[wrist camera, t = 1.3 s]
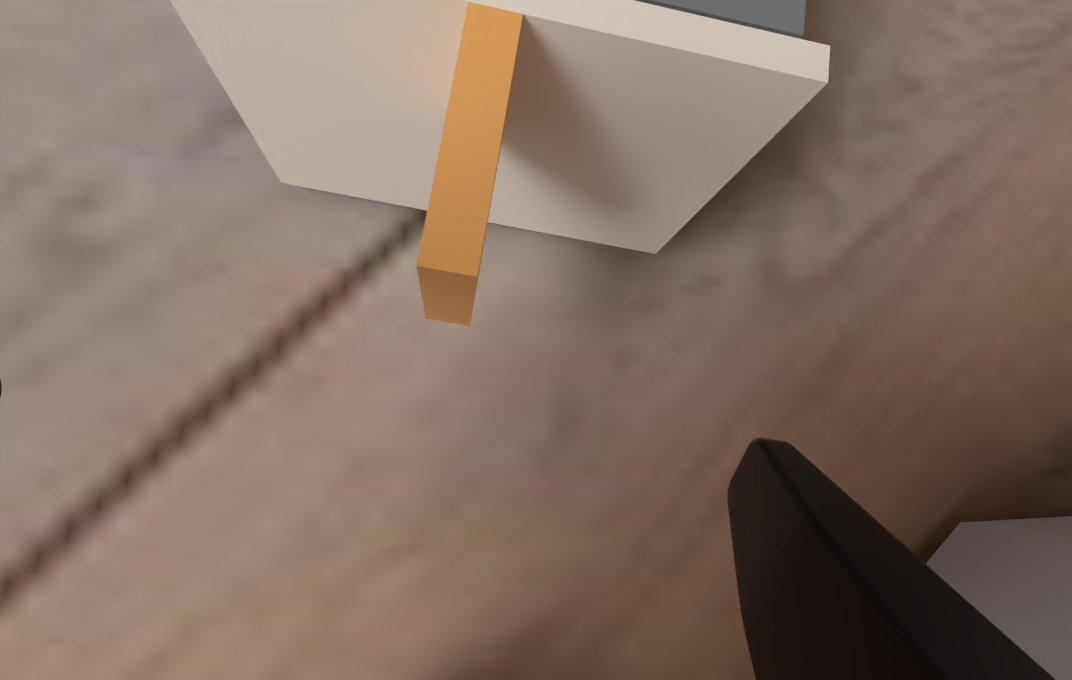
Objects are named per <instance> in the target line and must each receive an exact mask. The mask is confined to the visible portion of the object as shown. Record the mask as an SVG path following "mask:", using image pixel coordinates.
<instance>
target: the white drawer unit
mask: <svg viewBox="0 0 1072 680" xmlns="http://www.w3.org/2000/svg"><path fill="white" fill-rule="evenodd" d="M170 1H171V3H172V4H173V6H174V8H175V9H176V11H177V13H178V14H179V16H180V18H181V19H182V21H183V22H184V24H185V26H186V27H187V29H188V31H189V32H190V34H191V36H192V37H193V39H194V40H195V42H196V44H197V45H198V47H199V49H200V50H201V52H202V54H203V55H204V57H205V58H206V60H207V62H208V63H209V65H210V67H211V68H212V70H213V72H214V73H215V75H216V76H217V78H218V80H219V81H220V83H221V85H222V86H223V88H224V90H225V91H226V93H227V94H228V96H229V98H230V99H231V101H232V103H233V104H234V106H235V108H236V109H237V111H238V112H239V114H240V116H241V117H242V119H243V121H244V122H245V124H246V126H247V127H248V129H249V130H250V132H251V134H252V135H253V137H254V139H255V140H256V142H257V144H258V145H259V147H260V148H261V150H262V152H263V153H264V155H265V157H266V158H267V160H268V161H269V163H270V165H271V166H272V168H273V170H274V171H275V173H276V175H277V176H278V178H279V179H280V181H281V183H286V184H291V185H296V186H301V187H307V188H312V189H317V190H322V191H328V192H333V193H338V194H343V195H349V196H354V197H359V198H364V199H370V200H375V201H380V202H385V203H391V204H396V205H401V206H406V207H412V208H417V209H422V210H427V215H426V220H425V225H424V230H423V236H422V241H421V246H420V251H419V256H418V261H417V271H418V276H419V282H420V288H421V294H422V300H423V305H424V311H425V317H426V318H427V319H433V320H439V321H445V322H450V323H456V324H462V325H468V326H470V322H471V316H472V310H473V305H474V299H475V293H476V287H477V282H478V276H479V270H480V264H481V259H482V253H483V247H484V241H485V236H486V230H487V224H488V222H490V223H495V224H501V225H506V226H511V227H516V228H522V229H527V230H532V231H537V232H543V233H548V234H553V235H558V236H564V237H569V238H574V239H579V240H585V241H590V242H595V243H600V244H606V245H611V246H616V247H621V248H627V249H632V250H637V251H642V252H648V253H653V254H656V253H657V252H658V251H659V250H660V249H661V248H662V247H663V246H664V245H665V244H666V243H667V242H668V241H669V240H670V239H671V238H672V237H673V236H674V235H675V234H676V233H677V232H678V231H679V230H680V229H681V228H682V227H683V226H684V225H685V224H686V223H687V222H688V221H689V220H690V219H691V218H692V217H693V216H694V215H695V214H696V213H697V212H698V211H699V210H700V209H701V208H702V207H703V206H704V205H705V204H706V203H707V202H708V201H709V200H710V199H711V198H712V197H713V196H714V195H715V194H716V193H717V192H718V191H719V190H720V189H721V188H722V187H723V186H724V185H725V184H726V183H727V182H729V181H730V180H731V179H732V178H733V177H734V176H735V175H736V174H737V173H738V172H739V171H740V170H741V169H742V168H743V167H744V166H745V165H746V164H747V163H748V162H749V161H750V160H751V159H752V158H753V157H754V156H755V155H756V154H757V153H758V152H759V151H760V150H761V149H762V148H763V147H764V146H765V145H766V144H767V143H768V142H769V141H770V140H771V139H772V138H773V137H774V136H775V135H776V134H777V133H778V132H779V131H780V130H781V129H782V128H783V127H784V126H785V125H786V124H787V123H788V122H789V121H790V120H791V119H792V118H793V117H794V116H795V115H796V114H797V113H798V112H799V111H800V110H801V109H802V108H803V107H804V106H805V105H806V104H807V103H808V102H809V101H810V100H811V99H812V98H813V97H814V96H815V95H816V94H817V93H818V92H819V91H820V90H821V89H822V88H823V87H824V86H825V85H826V84H827V83H828V76H829V60H830V46H829V45H825V44H820V43H816V42H812V41H808V40H803V39H799V38H795V37H790V36H786V35H782V34H777V33H773V32H769V31H764V30H760V29H756V28H751V27H747V26H743V25H738V24H734V23H730V22H726V21H721V20H717V19H713V18H708V17H704V16H700V15H695V14H691V13H687V12H682V11H678V10H674V9H669V8H665V7H661V6H657V5H652V4H648V3H644V2H639V1H635V0H170Z"/></svg>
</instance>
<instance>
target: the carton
mask: <svg viewBox="0 0 1072 680" xmlns="http://www.w3.org/2000/svg"><path fill="white" fill-rule="evenodd" d="M635 1H639V2H644V3H648V4H652V5H657V6H661V7H665V8H669V9H674V10H678V11H682V12H687V13H691V14H695V15H700V16H704V17H708V18H713V19H717V20H721V21H726V22H730V23H734V24H738V25H743V26H747V27H751V28H756V29H760V30H764V31H769V32H773V33H777V34H782V35H786V36H790V37H795V38H799V39H801V38H802V37H803V36H804V22H805V8H806V0H635Z"/></svg>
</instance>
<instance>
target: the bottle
mask: <svg viewBox="0 0 1072 680" xmlns="http://www.w3.org/2000/svg"><path fill="white" fill-rule="evenodd" d="M926 565H927V566H928V567H930V568H931V569H932V570H933V571H934V572H935V573H936V574H938V575H939V576H940V577H941V578H942V579H943V580H944V581H945V582H947V583H948V584H949V585H950V586H951V587H952V588H953V589H954V590H956V591H957V592H958V593H959V594H960V595H961V596H962V597H963V598H965V599H966V600H967V601H968V602H969V603H970V604H971V605H972V606H974V607H975V608H976V609H977V610H978V611H979V612H980V613H981V614H983V615H984V616H985V617H986V618H987V619H988V620H989V621H990V622H992V623H993V624H994V625H995V626H996V627H997V628H998V629H999V630H1001V631H1002V632H1003V633H1004V634H1005V635H1006V636H1007V637H1008V638H1010V639H1011V640H1012V641H1013V642H1014V643H1015V644H1016V645H1018V646H1019V647H1020V648H1021V649H1022V650H1023V651H1024V652H1025V653H1027V654H1028V655H1029V656H1030V657H1031V658H1032V659H1033V660H1034V661H1036V662H1037V663H1038V664H1039V665H1040V666H1041V667H1042V668H1043V669H1045V670H1046V671H1047V672H1048V673H1049V674H1050V675H1051V676H1052V677H1054V678H1055V679H1056V680H1072V516H1067V517H1049V518H1032V519H1014V520H996V521H978V522H960V523H959V524H958V526H957V527H956V528H955V529H954V530H953V532H952V533H951V534H950V535H949V536H948V538H947V539H946V540H945V541H944V542H943V544H942V545H941V546H940V547H939V548H938V549H937V551H936V552H935V553H934V554H933V555H932V557H931V558H930V559H929V560H928V561H927V563H926Z"/></svg>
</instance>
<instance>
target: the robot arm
mask: <svg viewBox="0 0 1072 680" xmlns="http://www.w3.org/2000/svg"><path fill="white" fill-rule="evenodd" d="M1 391H2V386H1V380H0V396H1ZM727 499H728V509H729V518H730V526H731V535H732V543H733V552H734V560H735V569H736V577H737V586H738V594H739V601H740V608H741V615H742V620H743V624H744V629H745V634H746V639H747V643H748V647H749V652H750V656H751V660H752V665H753V669H754V673H755V678H756V680H1056V679H1055V678H1054V677H1052V676H1051V675H1050V674H1049V673H1048V672H1047V671H1046V670H1045V669H1043V668H1042V667H1041V666H1040V665H1039V664H1038V663H1037V662H1036V661H1034V660H1033V659H1032V658H1031V657H1030V656H1029V655H1028V654H1027V653H1025V652H1024V651H1023V650H1022V649H1021V648H1020V647H1019V646H1018V645H1016V644H1015V643H1014V642H1013V641H1012V640H1011V639H1010V638H1008V637H1007V636H1006V635H1005V634H1004V633H1003V632H1002V631H1001V630H999V629H998V628H997V627H996V626H995V625H994V624H993V623H992V622H990V621H989V620H988V619H987V618H986V617H985V616H984V615H983V614H981V613H980V612H979V611H978V610H977V609H976V608H975V607H974V606H972V605H971V604H970V603H969V602H968V601H967V600H966V599H965V598H963V597H962V596H961V595H960V594H959V593H958V592H957V591H956V590H954V589H953V588H952V587H951V586H950V585H949V584H948V583H947V582H945V581H944V580H943V579H942V578H941V577H940V576H939V575H938V574H936V573H935V572H934V571H933V570H932V569H931V568H930V567H928V566H927V565H926V564H925V563H924V562H923V561H922V560H921V559H919V558H918V557H917V556H916V555H915V554H914V553H913V552H912V551H910V550H909V549H908V548H907V547H906V546H905V545H904V544H903V543H901V542H900V541H899V540H898V539H897V538H896V537H895V536H894V535H892V534H891V533H890V532H889V531H888V530H887V529H886V528H885V527H883V526H882V525H881V524H880V523H879V522H878V521H877V520H876V519H874V518H873V517H872V516H871V515H870V514H869V513H868V512H867V511H865V510H864V509H863V508H862V507H861V506H860V505H859V504H858V503H856V502H855V501H854V500H853V499H852V498H851V497H850V496H849V495H847V494H846V493H845V492H844V491H843V490H842V489H841V488H839V487H838V486H837V485H836V484H835V483H834V482H833V481H832V480H830V479H829V478H828V477H827V476H826V475H825V474H824V473H823V472H821V471H820V470H819V469H818V468H817V467H816V466H815V465H814V464H812V463H811V462H810V461H809V460H808V459H807V458H806V457H805V456H803V455H802V454H801V453H800V452H799V451H798V450H797V449H796V448H794V447H793V446H792V445H791V444H789V443H787V442H785V441H779V440H772V439H765V438H757V439H754V440H753V441H752V442H751V443H750V444H749V446H748V448H747V450H746V452H745V453H744V455H743V457H742V459H741V461H740V463H739V465H738V467H737V469H736V471H735V473H734V475H733V477H732V479H731V481H730V484H729V488H728V497H727Z"/></svg>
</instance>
